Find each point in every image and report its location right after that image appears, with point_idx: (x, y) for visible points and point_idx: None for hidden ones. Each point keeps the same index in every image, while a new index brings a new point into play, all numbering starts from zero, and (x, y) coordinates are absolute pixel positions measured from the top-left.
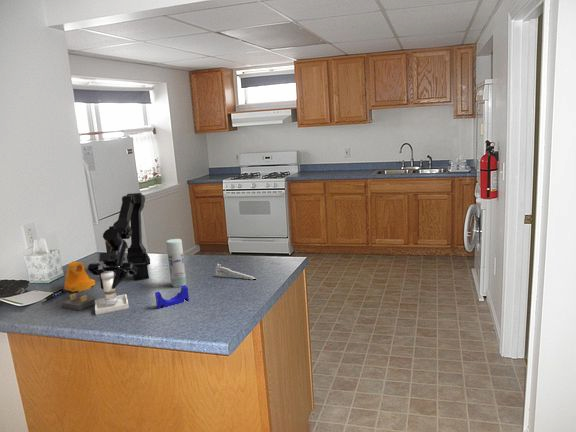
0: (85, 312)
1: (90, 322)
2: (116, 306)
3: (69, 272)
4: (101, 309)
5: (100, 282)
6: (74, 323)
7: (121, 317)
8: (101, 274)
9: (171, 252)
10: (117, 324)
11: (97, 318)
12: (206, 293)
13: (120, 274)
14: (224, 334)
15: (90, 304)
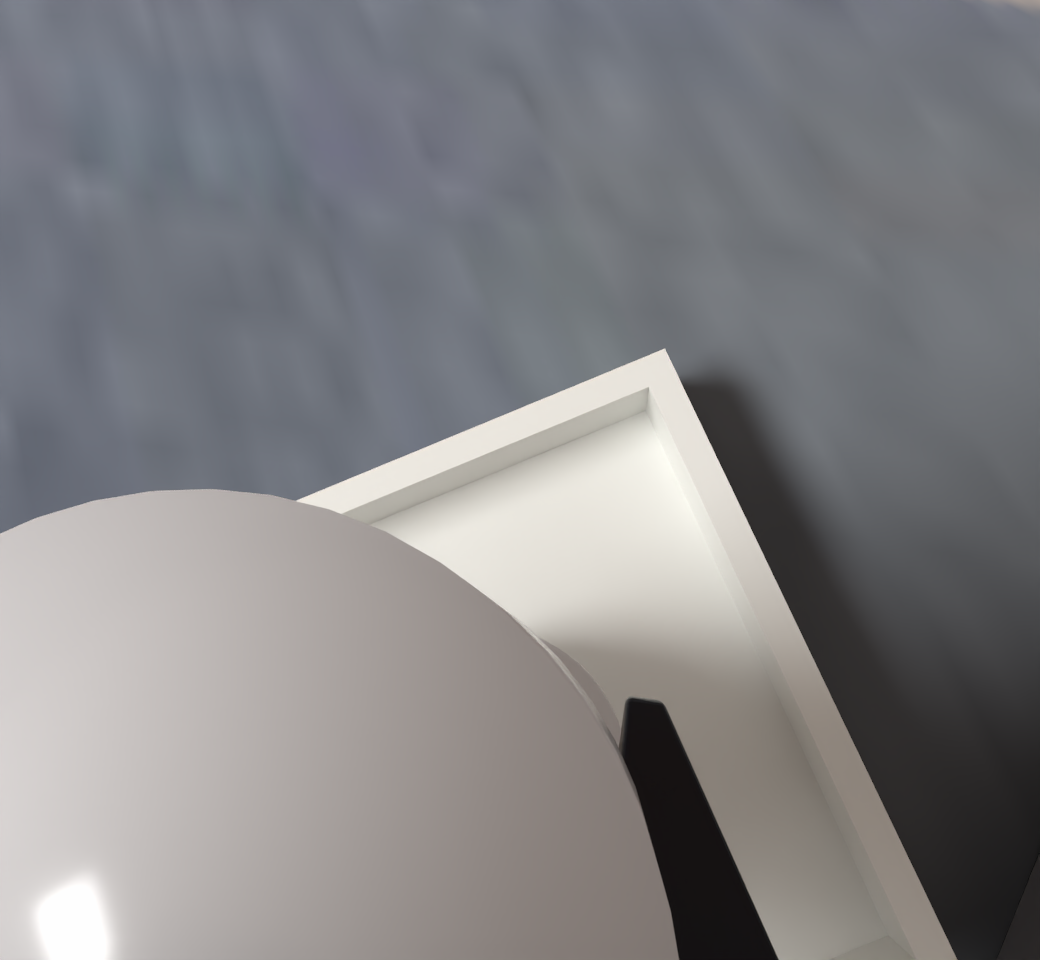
0: (934, 540)
1: (627, 129)
2: (308, 497)
3: None
4: (559, 394)
5: (736, 870)
6: (883, 114)
7: (197, 258)
8: (506, 692)
9: None
10: (194, 43)
11: (575, 259)
12: None
13: None
14: None
15: (1029, 911)
